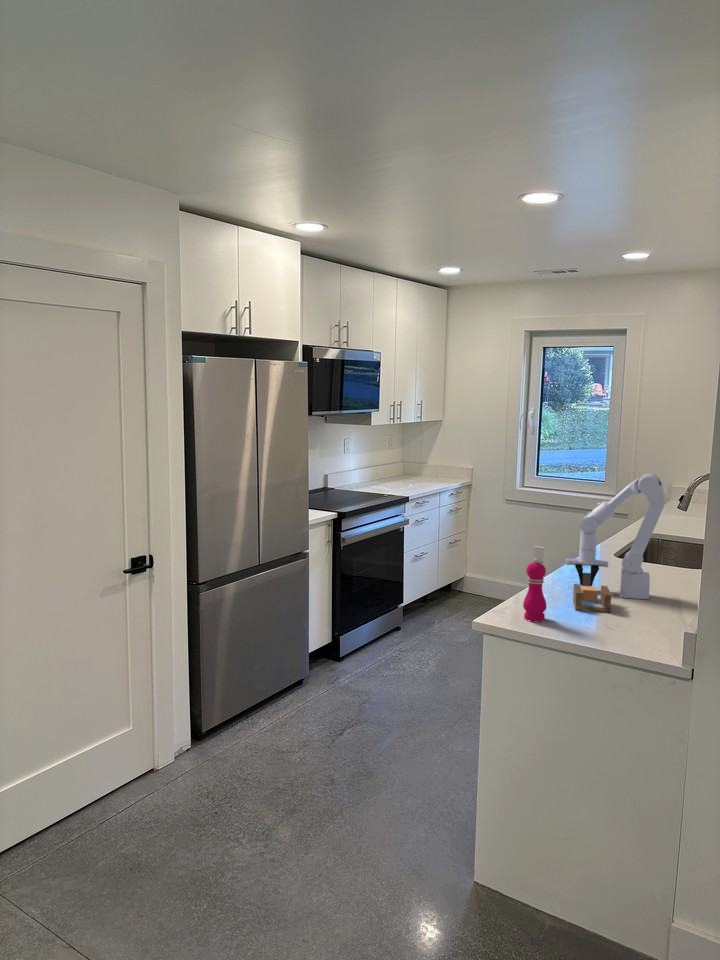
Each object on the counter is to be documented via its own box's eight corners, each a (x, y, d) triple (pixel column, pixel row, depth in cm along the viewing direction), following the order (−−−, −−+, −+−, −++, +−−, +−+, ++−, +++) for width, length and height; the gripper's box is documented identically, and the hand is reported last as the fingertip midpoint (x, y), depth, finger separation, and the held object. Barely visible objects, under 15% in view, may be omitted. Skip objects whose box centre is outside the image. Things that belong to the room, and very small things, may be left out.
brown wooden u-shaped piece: (606, 602, 234) (607, 585, 233) (610, 612, 223) (611, 595, 223) (573, 600, 237) (573, 583, 236) (575, 610, 226) (576, 592, 225)
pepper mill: (533, 624, 213) (535, 561, 210) (517, 617, 219) (519, 556, 216) (550, 620, 216) (553, 559, 213) (535, 613, 222) (537, 554, 220)
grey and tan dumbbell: (592, 589, 250) (593, 573, 249) (597, 602, 235) (598, 585, 234) (578, 588, 251) (579, 572, 250) (582, 601, 236) (582, 584, 235)
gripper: (607, 547, 250) (605, 583, 251) (566, 545, 253) (564, 580, 255) (609, 551, 243) (607, 588, 245) (567, 549, 246) (565, 585, 248)
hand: (586, 585), depth 249 cm, fingers closed on grey and tan dumbbell, 3 cm apart
